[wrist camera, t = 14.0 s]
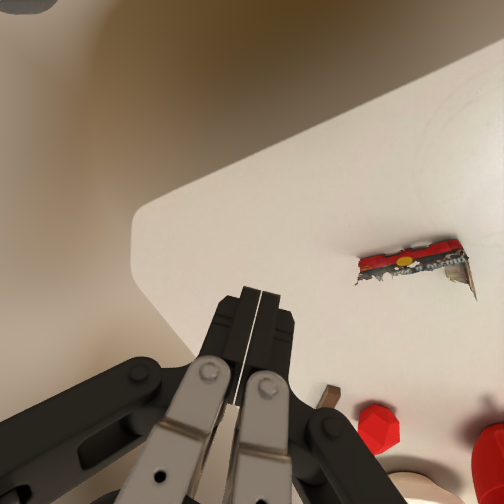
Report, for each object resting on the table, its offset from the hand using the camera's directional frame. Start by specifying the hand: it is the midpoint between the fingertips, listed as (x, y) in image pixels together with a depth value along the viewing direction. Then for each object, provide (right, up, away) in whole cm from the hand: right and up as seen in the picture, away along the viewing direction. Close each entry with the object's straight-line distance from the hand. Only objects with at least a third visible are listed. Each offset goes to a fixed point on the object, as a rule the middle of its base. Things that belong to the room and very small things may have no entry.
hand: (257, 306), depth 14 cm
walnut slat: (+12, -23, +46) cm, 53 cm away
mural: (+19, 0, +29) cm, 35 cm away
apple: (+20, -24, +45) cm, 55 cm away
